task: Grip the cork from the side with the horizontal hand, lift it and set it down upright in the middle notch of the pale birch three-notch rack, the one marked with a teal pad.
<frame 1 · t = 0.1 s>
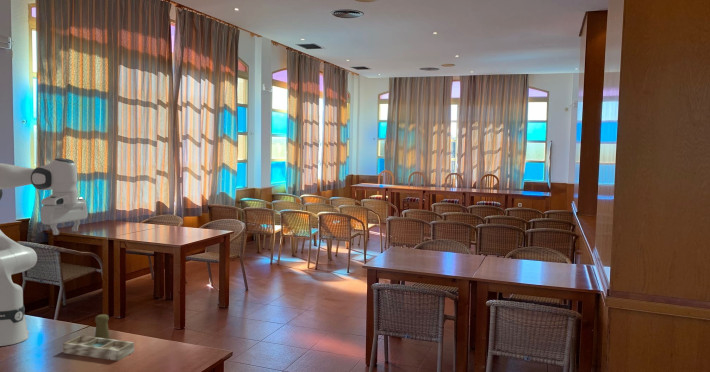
hand: (65, 232, 205), 48 cm above the table, tool pointing down, fingers open, 8 cm apart
cork: (102, 340, 218), on the table
notch rack: (99, 352, 205), on the table
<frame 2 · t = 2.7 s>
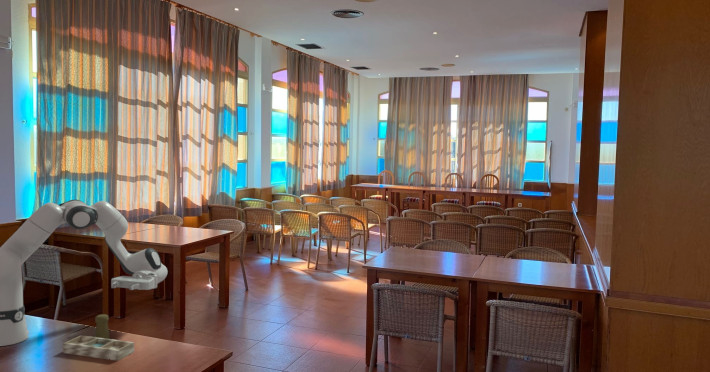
hand: (121, 287, 228), 20 cm above the table, tool horizontal, fingers open, 8 cm apart
nothing on the table moved.
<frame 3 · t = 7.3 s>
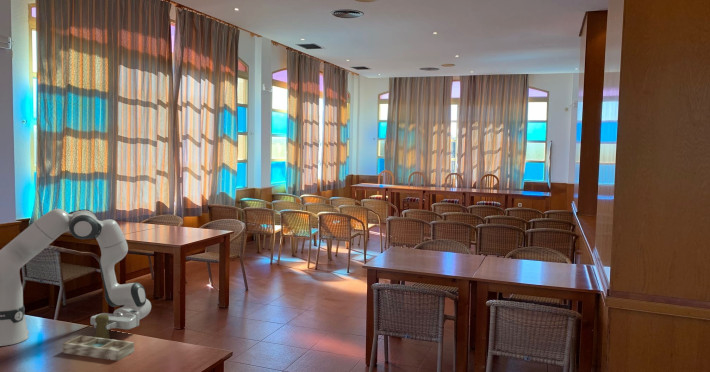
hand: (100, 327, 217), 6 cm above the table, tool horizontal, fingers closed on cork, 4 cm apart
cork: (102, 340, 218), on the table, touching gripper
when the fingers open (9 cm above the table, at t = 12.8 s): cork stays where it is, resting on notch rack.
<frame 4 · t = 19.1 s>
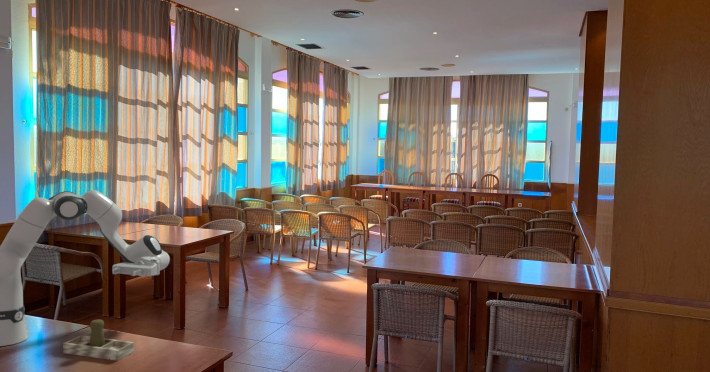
hand: (122, 273, 222), 28 cm above the table, tool horizontal, fingers open, 8 cm apart
cork: (97, 347, 205), point 2 cm above the table, touching notch rack
at the end: cork 0.7 cm off-centre on the notch rack, point 2.0 cm above the notch rack's base; cork tilted 0°; the gripper is holding nothing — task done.
